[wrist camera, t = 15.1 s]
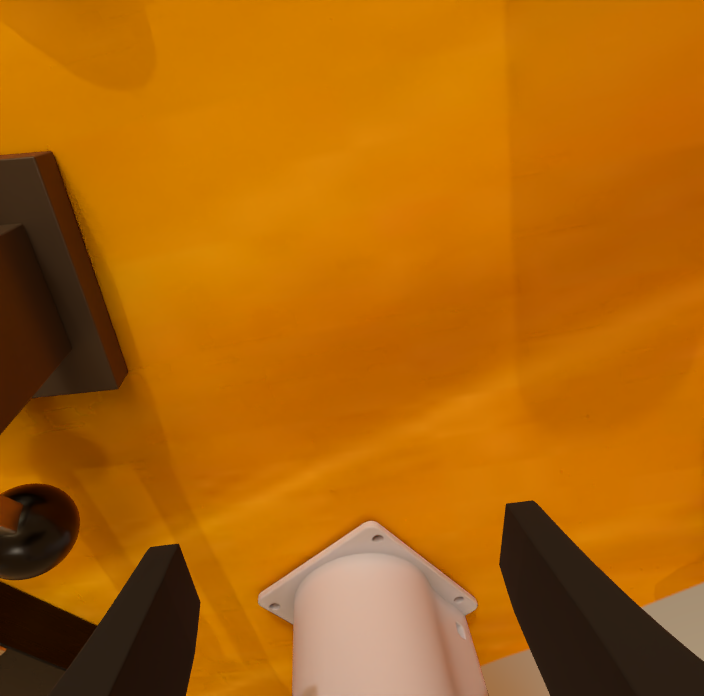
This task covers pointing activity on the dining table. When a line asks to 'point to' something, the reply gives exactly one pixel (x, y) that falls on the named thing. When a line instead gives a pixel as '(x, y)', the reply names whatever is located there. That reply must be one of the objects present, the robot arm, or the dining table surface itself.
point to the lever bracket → (47, 293)
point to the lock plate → (36, 643)
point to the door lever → (35, 530)
